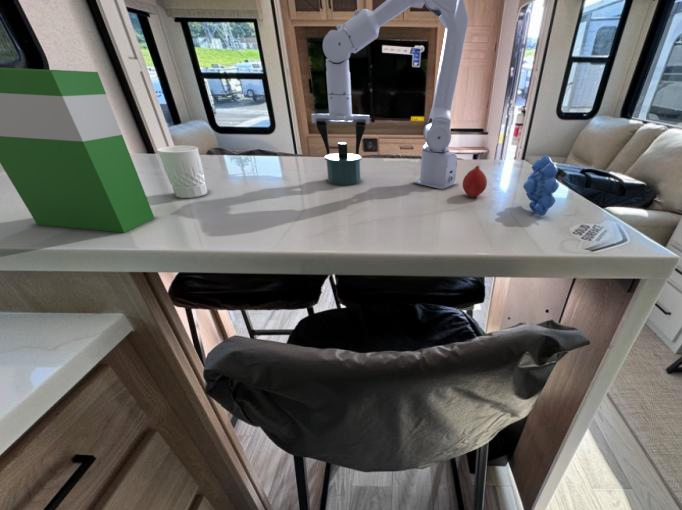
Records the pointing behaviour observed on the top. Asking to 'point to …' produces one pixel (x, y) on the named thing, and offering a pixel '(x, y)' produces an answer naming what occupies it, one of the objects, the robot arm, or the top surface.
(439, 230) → the top surface
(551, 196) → the grapes
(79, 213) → the hardback book
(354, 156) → the lid
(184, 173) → the white cup
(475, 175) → the onion
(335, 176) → the pot
